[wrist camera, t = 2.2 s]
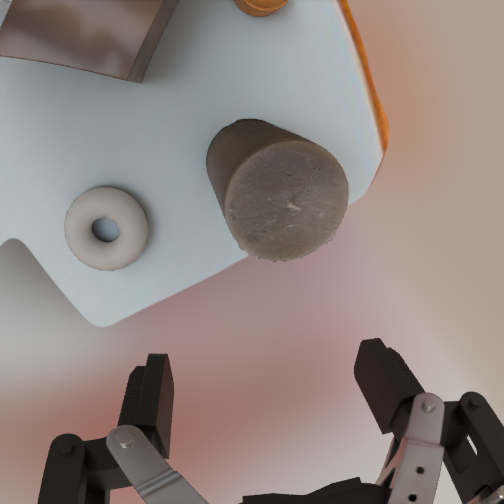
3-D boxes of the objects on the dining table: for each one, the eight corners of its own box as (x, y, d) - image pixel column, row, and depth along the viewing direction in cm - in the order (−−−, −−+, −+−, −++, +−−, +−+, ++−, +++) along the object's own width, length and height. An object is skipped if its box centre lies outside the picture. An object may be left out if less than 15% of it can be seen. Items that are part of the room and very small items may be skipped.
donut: (125, 167, 31) (54, 206, 31) (121, 175, 28) (44, 218, 28) (163, 241, 36) (94, 273, 36) (163, 256, 34) (90, 289, 33)
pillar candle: (237, 102, 30) (281, 112, 18) (306, 148, 35) (380, 190, 22) (188, 177, 33) (198, 239, 21) (260, 216, 38) (306, 289, 25)
